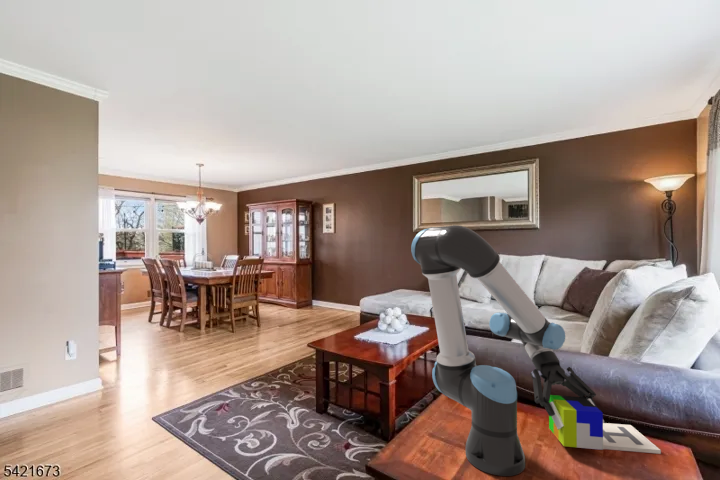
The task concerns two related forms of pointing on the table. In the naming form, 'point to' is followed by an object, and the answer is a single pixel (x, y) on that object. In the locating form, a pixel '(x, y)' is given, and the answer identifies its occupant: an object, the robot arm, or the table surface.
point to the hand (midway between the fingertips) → (581, 425)
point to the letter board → (626, 439)
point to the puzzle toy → (578, 422)
